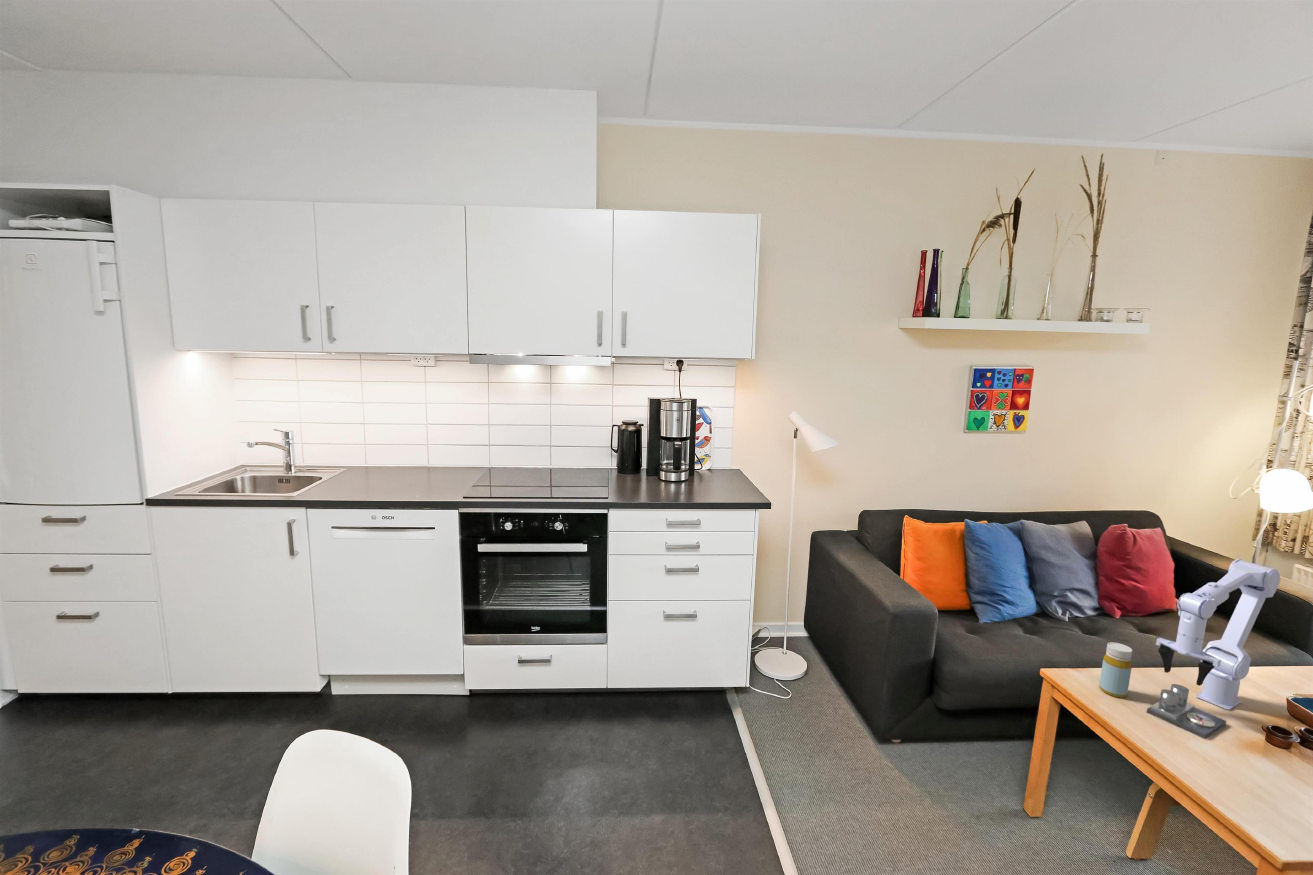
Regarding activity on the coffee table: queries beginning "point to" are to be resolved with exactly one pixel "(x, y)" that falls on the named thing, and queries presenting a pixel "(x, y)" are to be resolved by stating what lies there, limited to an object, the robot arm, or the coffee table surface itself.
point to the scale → (1189, 719)
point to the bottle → (1116, 670)
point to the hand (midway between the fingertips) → (1182, 677)
